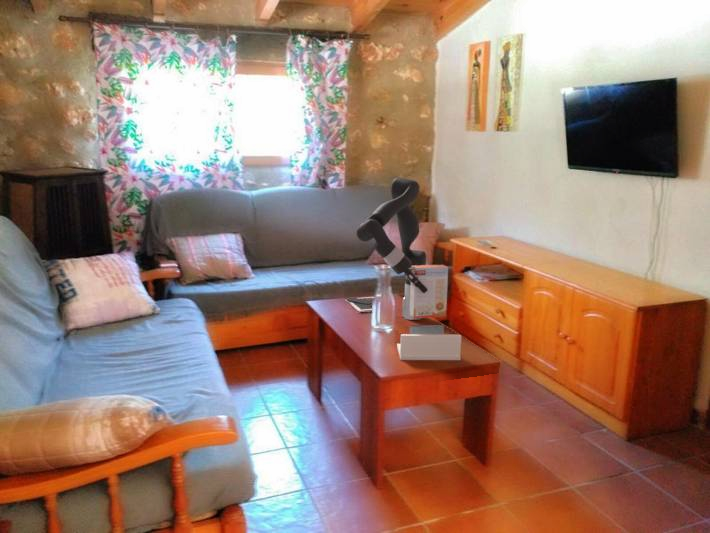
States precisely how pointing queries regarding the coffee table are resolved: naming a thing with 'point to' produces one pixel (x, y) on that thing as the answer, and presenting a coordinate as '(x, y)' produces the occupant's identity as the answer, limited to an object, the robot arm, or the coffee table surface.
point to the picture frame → (361, 303)
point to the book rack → (429, 347)
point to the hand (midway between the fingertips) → (424, 289)
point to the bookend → (427, 329)
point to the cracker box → (429, 291)
